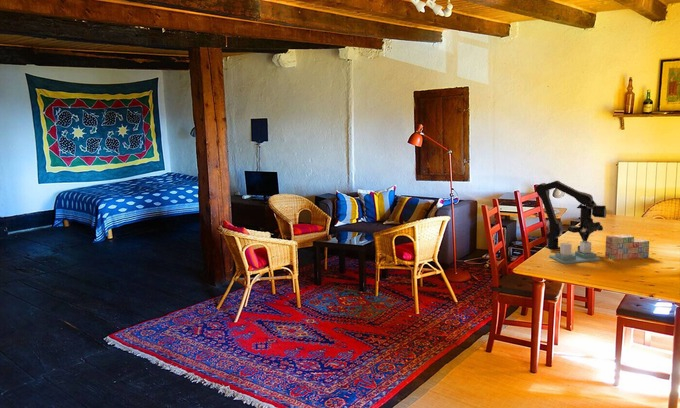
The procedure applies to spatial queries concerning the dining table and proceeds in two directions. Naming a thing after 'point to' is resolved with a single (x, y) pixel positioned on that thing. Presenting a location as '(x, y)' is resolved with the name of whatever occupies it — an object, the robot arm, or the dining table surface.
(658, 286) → the dining table surface
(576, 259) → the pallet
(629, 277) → the dining table surface
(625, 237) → the stack of blocks
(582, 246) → the steel billet
